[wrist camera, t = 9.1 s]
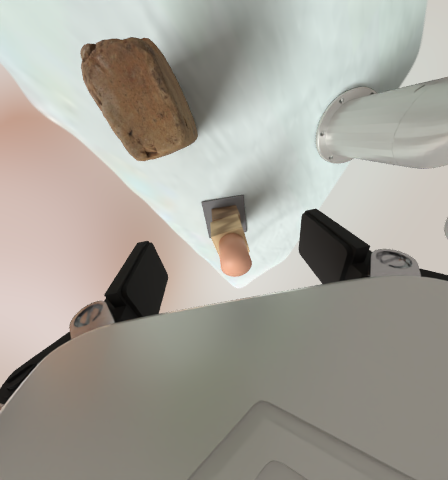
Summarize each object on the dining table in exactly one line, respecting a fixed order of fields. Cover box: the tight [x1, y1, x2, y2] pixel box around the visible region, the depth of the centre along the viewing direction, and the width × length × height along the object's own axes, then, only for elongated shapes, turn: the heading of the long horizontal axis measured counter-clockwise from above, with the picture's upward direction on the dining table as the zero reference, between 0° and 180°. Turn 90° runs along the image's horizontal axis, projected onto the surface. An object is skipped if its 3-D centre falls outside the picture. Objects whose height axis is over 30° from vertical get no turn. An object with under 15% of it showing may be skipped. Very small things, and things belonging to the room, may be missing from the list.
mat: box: [202, 195, 246, 238], centre depth 42 cm, size 10×10×1 cm
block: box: [80, 37, 198, 161], centre depth 22 cm, size 11×8×20 cm
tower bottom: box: [211, 205, 241, 222], centre depth 40 cm, size 6×6×6 cm
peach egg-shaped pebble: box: [219, 233, 252, 277], centre depth 30 cm, size 5×5×6 cm
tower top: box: [210, 214, 250, 257], centre depth 35 cm, size 6×6×6 cm
